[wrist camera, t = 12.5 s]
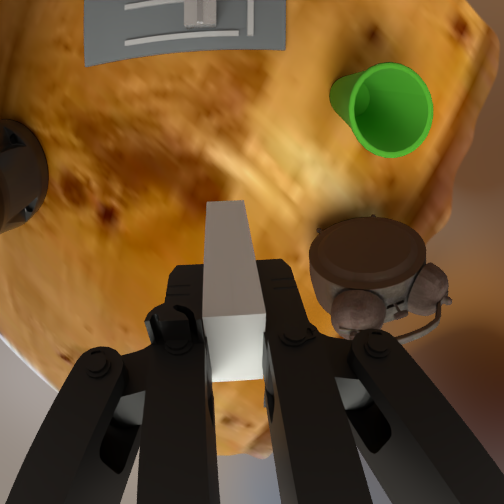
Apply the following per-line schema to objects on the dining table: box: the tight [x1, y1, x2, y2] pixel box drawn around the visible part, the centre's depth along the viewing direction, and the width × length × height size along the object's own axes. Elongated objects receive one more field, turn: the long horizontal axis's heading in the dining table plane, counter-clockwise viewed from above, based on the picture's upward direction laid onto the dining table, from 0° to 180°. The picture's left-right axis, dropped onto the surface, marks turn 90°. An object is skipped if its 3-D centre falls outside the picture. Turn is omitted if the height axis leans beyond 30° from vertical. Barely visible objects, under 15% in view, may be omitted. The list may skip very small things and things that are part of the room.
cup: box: [330, 62, 433, 158], centre depth 28 cm, size 9×9×11 cm
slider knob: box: [184, 0, 216, 30], centre depth 24 cm, size 3×3×4 cm
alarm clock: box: [309, 214, 452, 344], centre depth 35 cm, size 14×7×20 cm, turn 104°
